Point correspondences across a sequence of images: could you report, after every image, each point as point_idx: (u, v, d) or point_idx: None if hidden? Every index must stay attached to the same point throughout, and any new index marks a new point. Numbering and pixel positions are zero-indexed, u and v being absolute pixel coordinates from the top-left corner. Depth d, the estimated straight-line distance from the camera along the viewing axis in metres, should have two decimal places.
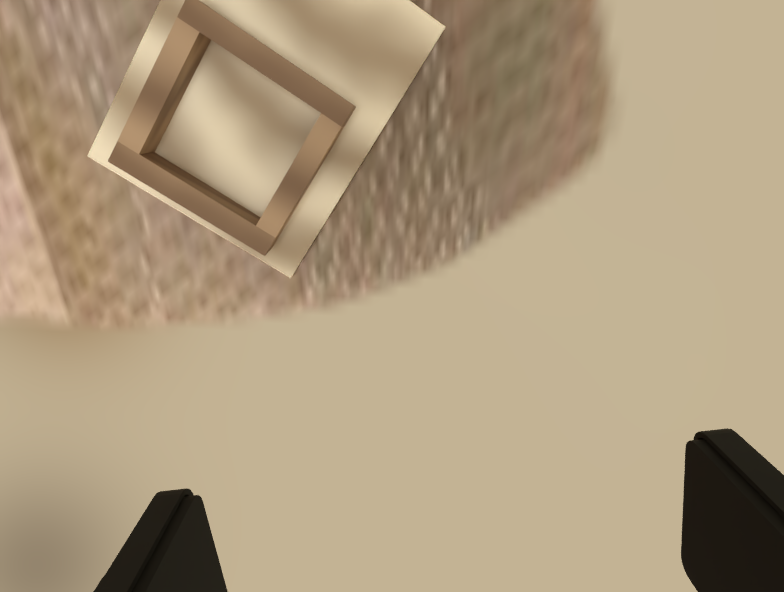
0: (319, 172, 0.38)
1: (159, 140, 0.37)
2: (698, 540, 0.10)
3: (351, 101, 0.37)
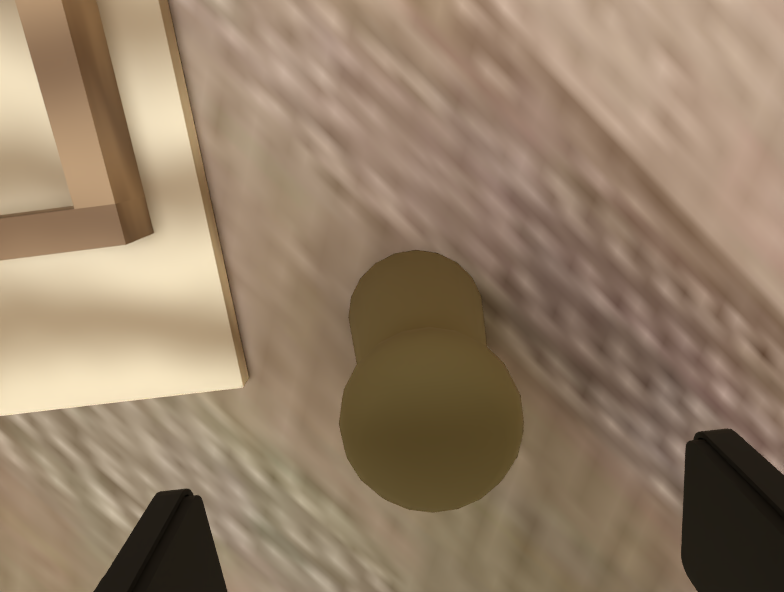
0: None
1: None
2: (698, 540, 0.10)
3: None
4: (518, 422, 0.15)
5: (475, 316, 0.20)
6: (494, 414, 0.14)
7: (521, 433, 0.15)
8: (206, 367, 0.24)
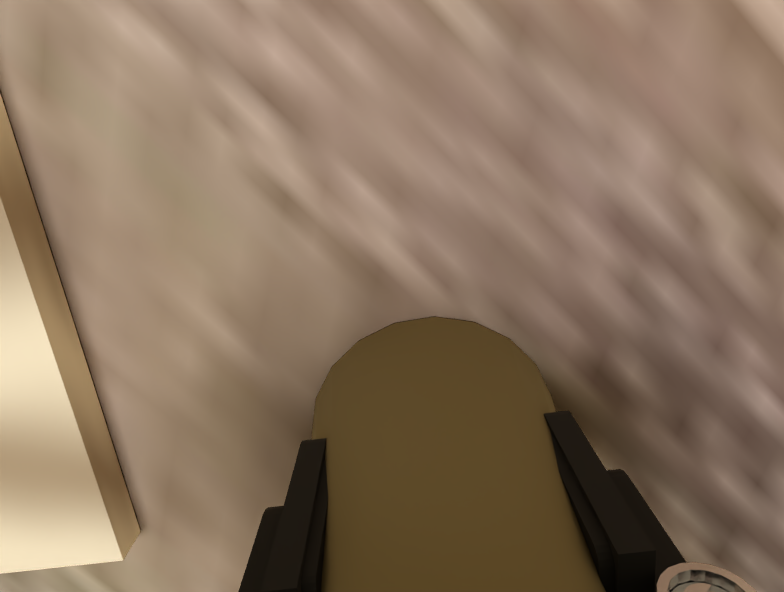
0: None
1: None
2: None
3: None
4: None
5: None
6: None
7: None
8: (53, 528, 0.13)
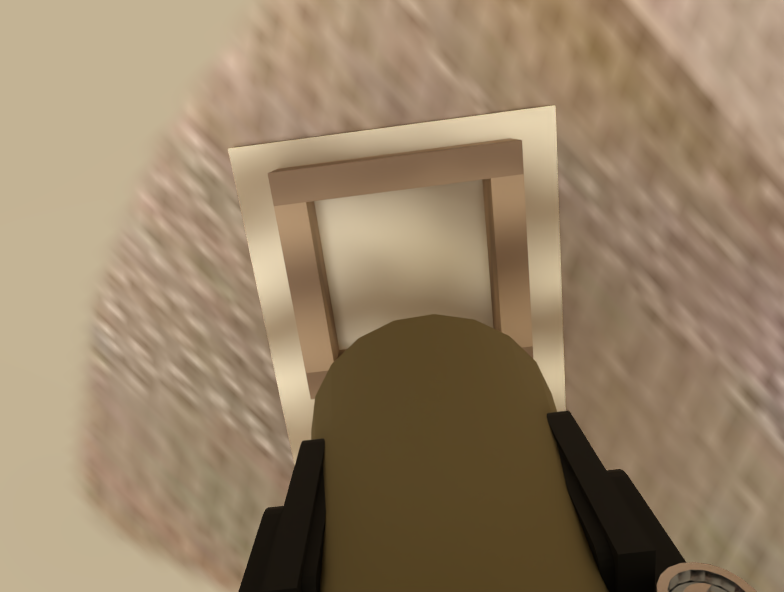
0: None
1: (484, 191, 0.27)
2: None
3: None
4: None
5: None
6: None
7: None
8: None
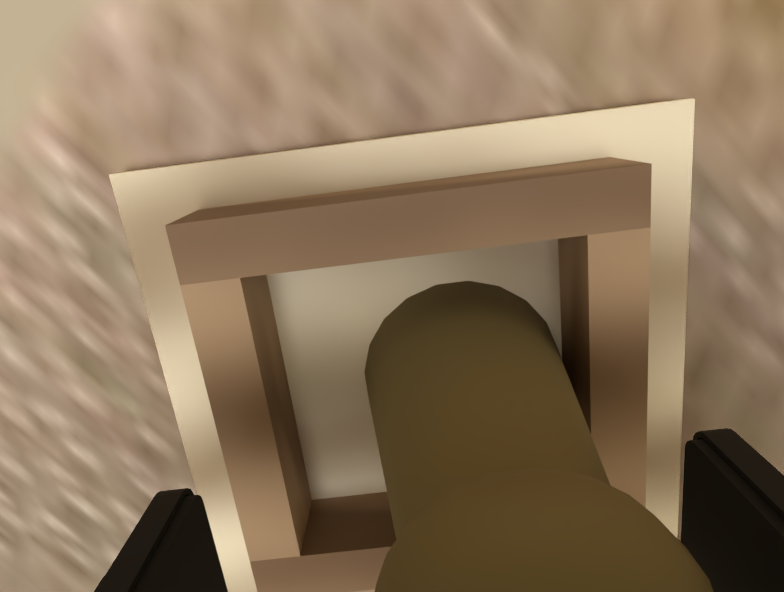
0: None
1: (560, 249, 0.16)
2: (697, 540, 0.10)
3: None
4: None
5: (577, 404, 0.12)
6: None
7: None
8: None
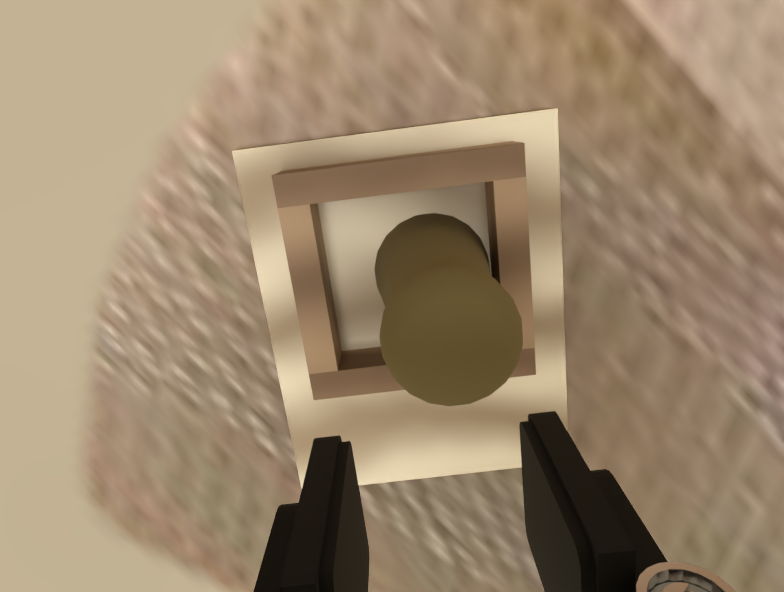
0: None
1: (486, 194, 0.28)
2: (530, 510, 0.11)
3: None
4: (519, 336, 0.19)
5: (484, 265, 0.24)
6: (501, 328, 0.18)
7: (521, 346, 0.19)
8: None
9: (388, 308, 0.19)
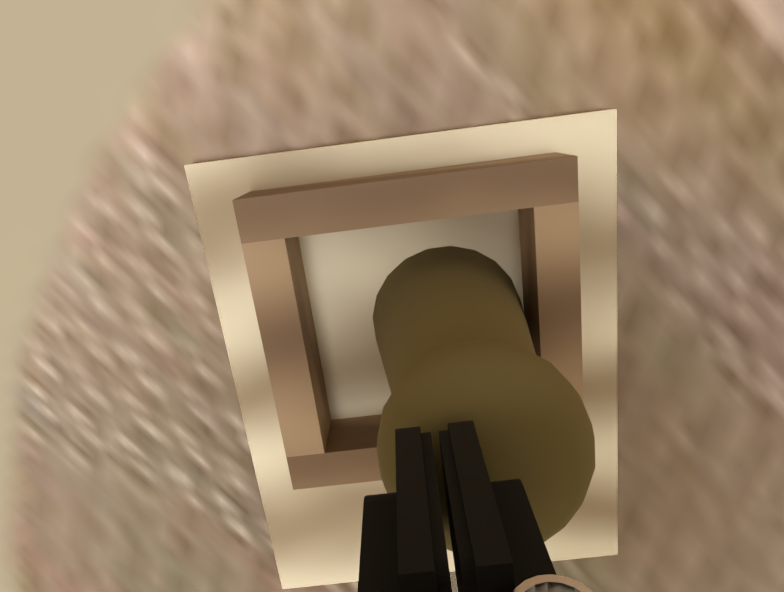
0: None
1: (519, 222, 0.21)
2: (449, 519, 0.11)
3: None
4: (592, 457, 0.12)
5: (523, 324, 0.18)
6: (568, 449, 0.12)
7: (593, 469, 0.13)
8: (587, 537, 0.26)
9: (390, 409, 0.13)
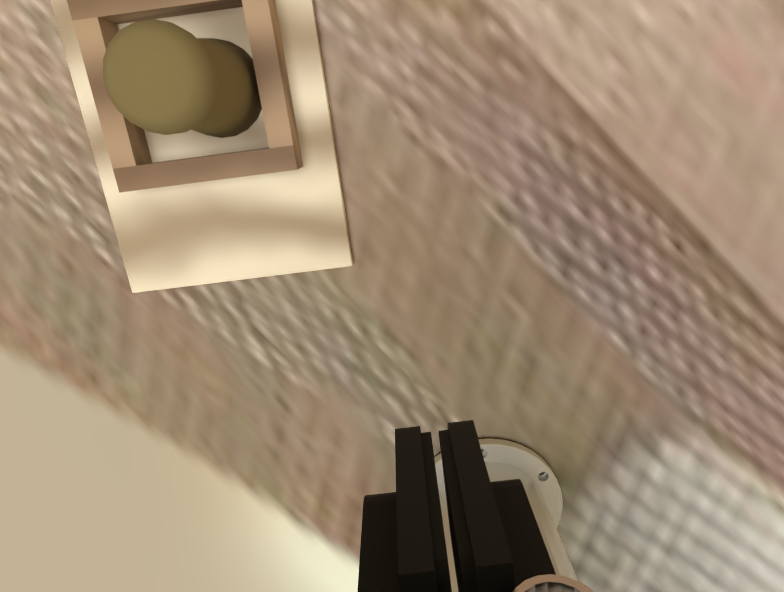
0: None
1: None
2: (449, 518, 0.11)
3: None
4: (200, 69, 0.26)
5: (227, 58, 0.31)
6: (180, 56, 0.25)
7: (205, 78, 0.26)
8: (329, 252, 0.39)
9: None
